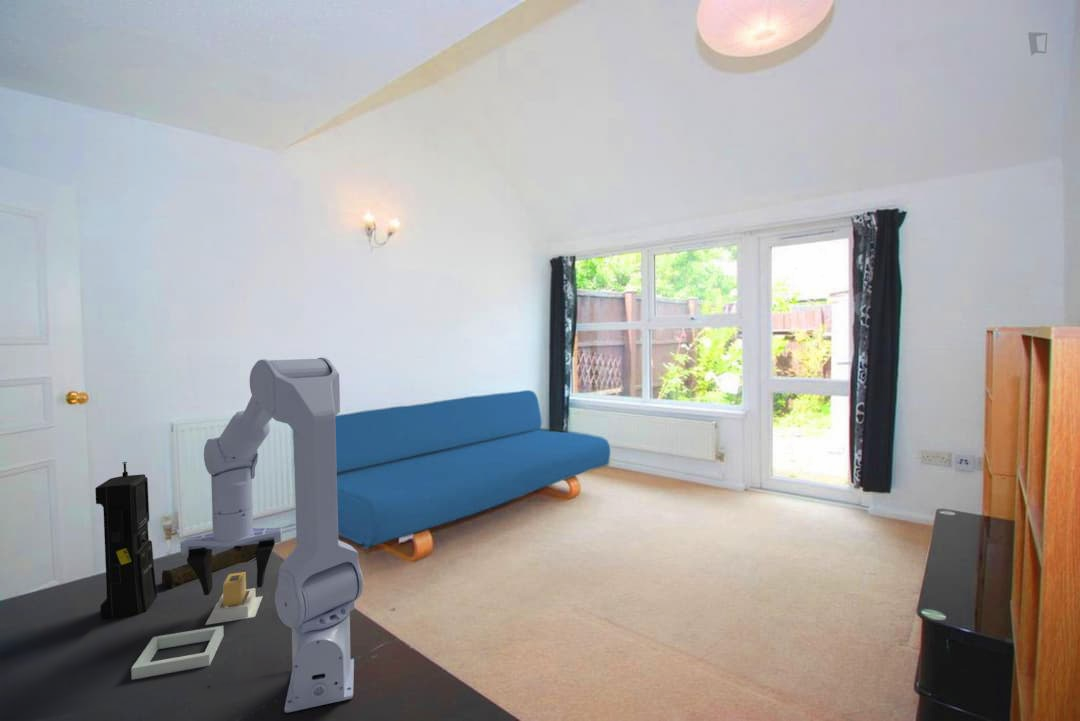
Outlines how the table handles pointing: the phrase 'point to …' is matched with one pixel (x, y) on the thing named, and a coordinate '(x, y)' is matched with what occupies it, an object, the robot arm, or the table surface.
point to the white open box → (236, 609)
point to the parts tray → (179, 663)
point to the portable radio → (127, 546)
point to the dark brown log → (218, 562)
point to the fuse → (234, 589)
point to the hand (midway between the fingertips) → (234, 588)
